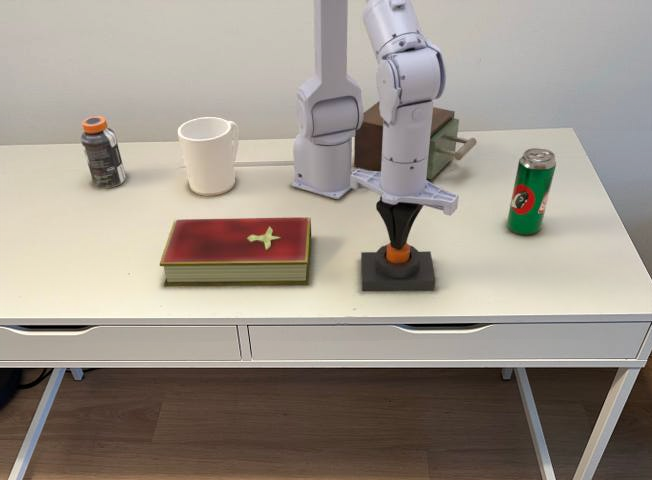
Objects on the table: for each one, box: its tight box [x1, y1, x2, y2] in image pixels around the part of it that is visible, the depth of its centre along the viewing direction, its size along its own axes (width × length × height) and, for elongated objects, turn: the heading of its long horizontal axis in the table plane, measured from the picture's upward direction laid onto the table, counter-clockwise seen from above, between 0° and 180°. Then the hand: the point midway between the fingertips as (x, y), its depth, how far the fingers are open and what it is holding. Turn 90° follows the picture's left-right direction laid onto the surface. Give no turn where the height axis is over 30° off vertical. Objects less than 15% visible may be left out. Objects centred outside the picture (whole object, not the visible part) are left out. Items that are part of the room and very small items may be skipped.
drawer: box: [426, 117, 478, 180], centre depth 114 cm, size 17×9×7 cm, turn 55°
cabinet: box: [353, 100, 456, 181], centre depth 116 cm, size 14×11×9 cm
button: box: [386, 242, 411, 263], centre depth 92 cm, size 3×3×2 cm
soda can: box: [506, 147, 557, 236], centre depth 97 cm, size 5×5×12 cm
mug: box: [177, 116, 240, 197], centre depth 113 cm, size 11×9×10 cm
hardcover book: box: [159, 216, 312, 287], centre depth 98 cm, size 12×21×4 cm, turn 86°
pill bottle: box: [80, 115, 127, 189], centre depth 116 cm, size 6×6×11 cm
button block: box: [360, 244, 436, 292], centre depth 93 cm, size 10×7×4 cm
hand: (398, 244), depth 91 cm, fingers closed
